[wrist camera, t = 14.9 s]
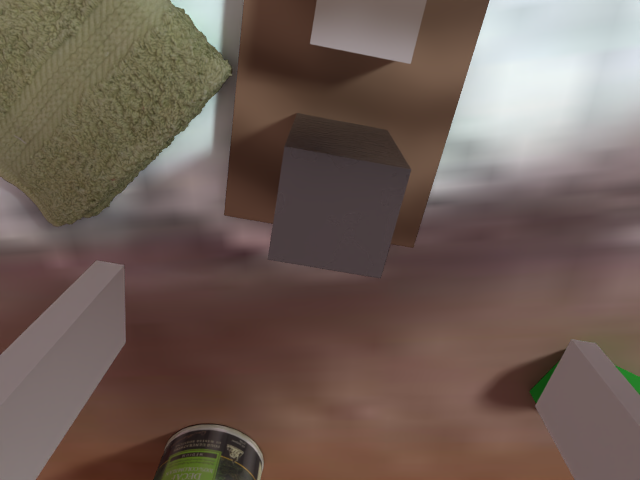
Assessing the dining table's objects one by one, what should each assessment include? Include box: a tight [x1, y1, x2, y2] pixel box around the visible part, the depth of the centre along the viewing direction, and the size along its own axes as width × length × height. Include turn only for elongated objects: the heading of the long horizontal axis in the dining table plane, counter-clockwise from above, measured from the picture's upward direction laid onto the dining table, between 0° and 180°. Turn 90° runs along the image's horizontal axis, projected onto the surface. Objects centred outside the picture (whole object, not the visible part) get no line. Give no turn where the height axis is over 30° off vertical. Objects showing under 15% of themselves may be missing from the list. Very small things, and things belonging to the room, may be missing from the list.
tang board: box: [224, 0, 489, 248], centre depth 26 cm, size 20×14×6 cm
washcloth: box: [0, 0, 233, 227], centre depth 28 cm, size 13×18×3 cm
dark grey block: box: [268, 113, 411, 278], centre depth 25 cm, size 6×6×9 cm
